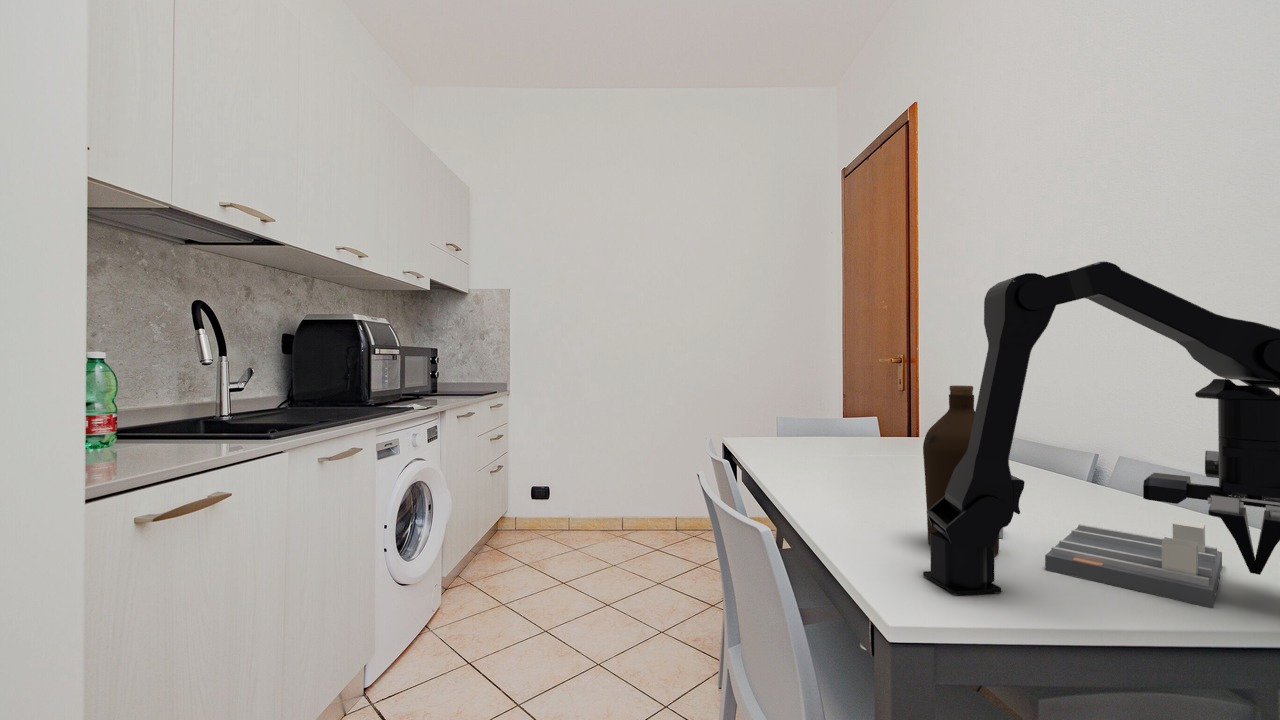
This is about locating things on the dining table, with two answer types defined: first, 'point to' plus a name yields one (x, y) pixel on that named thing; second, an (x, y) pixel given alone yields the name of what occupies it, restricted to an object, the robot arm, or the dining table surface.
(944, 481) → the olive oil
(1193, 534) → the tab far
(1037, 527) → the dining table surface
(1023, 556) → the dining table surface
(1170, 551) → the tab near
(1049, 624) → the dining table surface
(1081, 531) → the switch panel
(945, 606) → the dining table surface
